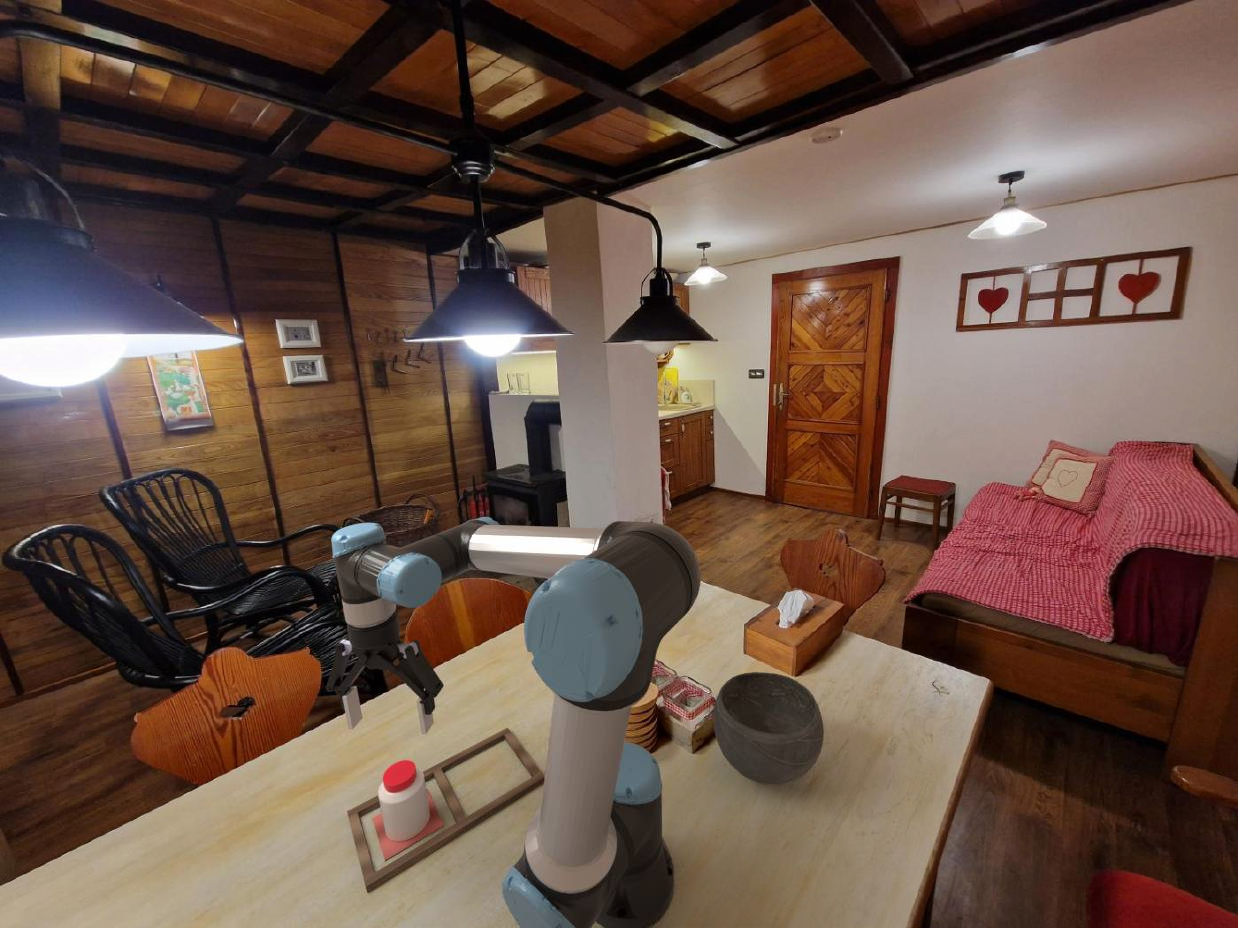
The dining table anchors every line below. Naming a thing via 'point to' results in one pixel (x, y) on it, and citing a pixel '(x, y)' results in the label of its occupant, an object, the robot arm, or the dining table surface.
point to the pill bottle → (403, 801)
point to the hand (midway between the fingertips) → (391, 726)
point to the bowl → (768, 727)
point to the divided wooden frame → (436, 813)
